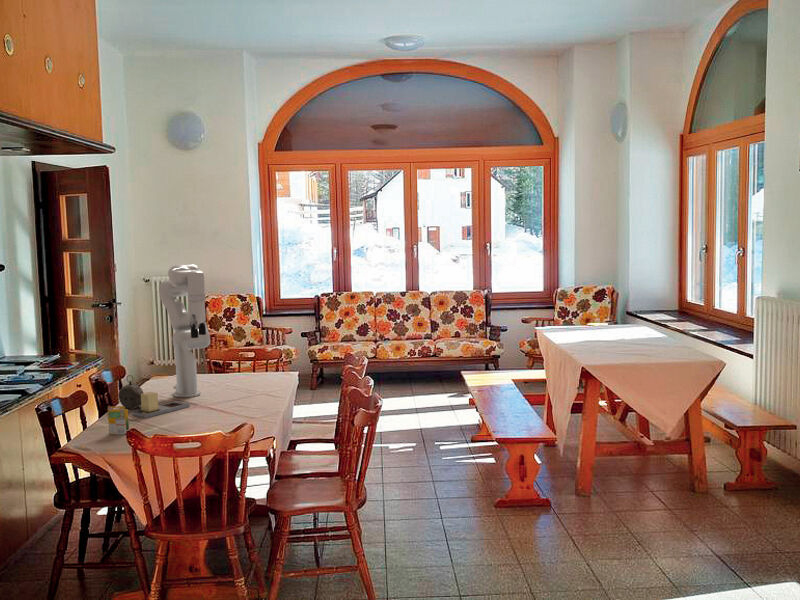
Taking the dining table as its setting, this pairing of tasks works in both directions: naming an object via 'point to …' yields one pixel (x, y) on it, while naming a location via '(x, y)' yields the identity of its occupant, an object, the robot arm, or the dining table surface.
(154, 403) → the brushed gold block
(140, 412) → the divided tray
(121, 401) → the alarm clock
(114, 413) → the crayon box
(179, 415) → the dining table surface
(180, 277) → the robot arm
